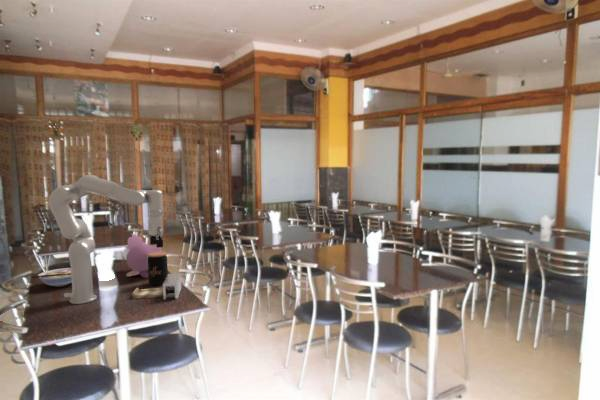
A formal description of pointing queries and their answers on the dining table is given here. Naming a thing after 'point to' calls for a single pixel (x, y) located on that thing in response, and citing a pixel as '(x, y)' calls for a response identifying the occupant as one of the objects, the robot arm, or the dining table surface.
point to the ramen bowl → (56, 277)
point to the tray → (147, 293)
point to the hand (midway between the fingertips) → (156, 245)
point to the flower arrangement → (139, 256)
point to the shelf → (172, 285)
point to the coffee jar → (157, 268)
